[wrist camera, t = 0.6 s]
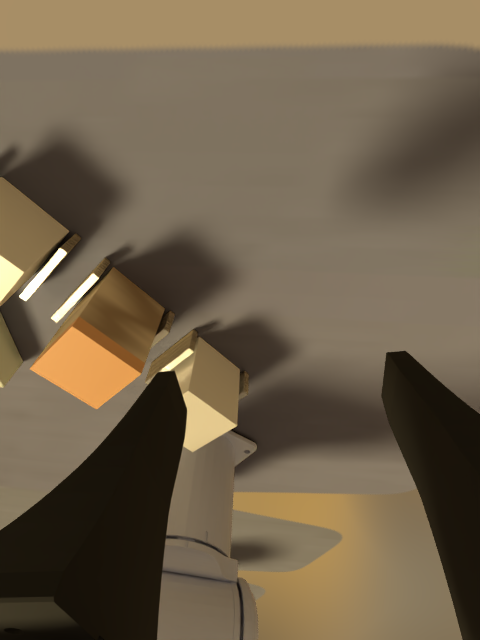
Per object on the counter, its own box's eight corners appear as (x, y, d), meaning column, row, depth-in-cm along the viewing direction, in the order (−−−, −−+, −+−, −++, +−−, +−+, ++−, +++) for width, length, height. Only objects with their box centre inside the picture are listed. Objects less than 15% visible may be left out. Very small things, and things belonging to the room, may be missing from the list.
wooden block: (165, 308, 23) (141, 373, 18) (127, 341, 25) (96, 409, 20) (113, 266, 22) (72, 326, 17) (76, 304, 23) (29, 368, 18)
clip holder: (248, 374, 26) (248, 394, 25) (206, 401, 28) (203, 422, 26) (-10, 163, 18) (-36, 173, 17) (-45, 221, 20) (-72, 234, 19)
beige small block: (239, 369, 26) (237, 425, 22) (201, 395, 28) (192, 452, 24) (199, 336, 24) (188, 390, 20) (161, 365, 26) (143, 421, 22)
